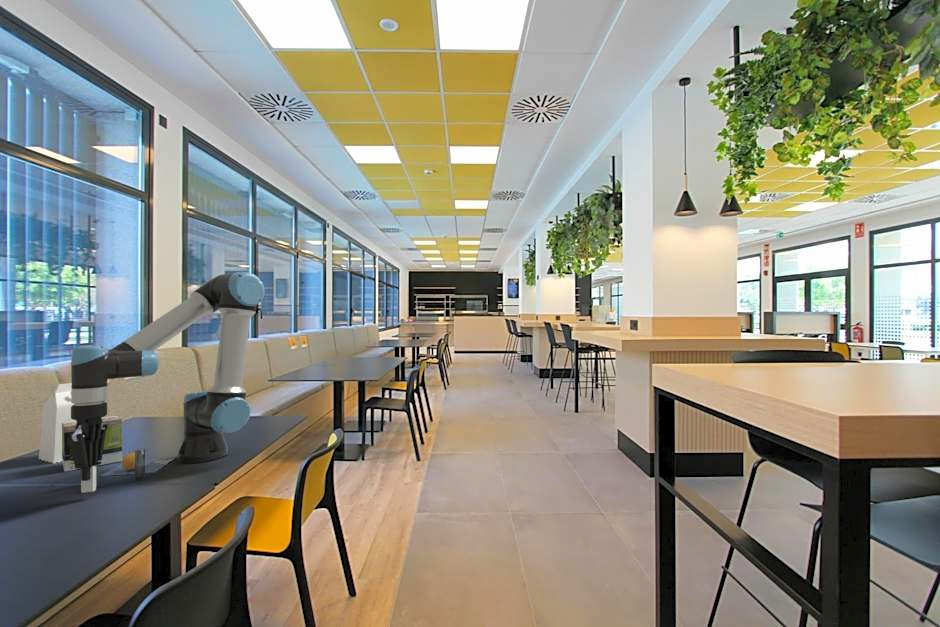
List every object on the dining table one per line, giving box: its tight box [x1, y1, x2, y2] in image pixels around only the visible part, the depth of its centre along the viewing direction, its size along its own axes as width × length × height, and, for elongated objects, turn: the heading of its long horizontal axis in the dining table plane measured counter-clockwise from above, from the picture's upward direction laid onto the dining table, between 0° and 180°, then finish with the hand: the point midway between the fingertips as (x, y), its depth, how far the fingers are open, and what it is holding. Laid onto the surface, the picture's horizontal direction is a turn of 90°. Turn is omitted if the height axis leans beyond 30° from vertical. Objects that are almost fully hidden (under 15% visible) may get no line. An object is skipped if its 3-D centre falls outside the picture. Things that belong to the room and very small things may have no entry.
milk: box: [38, 382, 76, 464], centre depth 161 cm, size 12×12×26 cm
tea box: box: [61, 415, 123, 472], centre depth 152 cm, size 15×10×15 cm, turn 134°
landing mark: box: [100, 461, 168, 477], centre depth 148 cm, size 15×15×1 cm
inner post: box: [134, 448, 146, 482], centre depth 135 cm, size 2×2×9 cm
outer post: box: [96, 465, 99, 484], centre depth 133 cm, size 2×2×9 cm
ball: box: [121, 452, 135, 471], centre depth 145 cm, size 6×6×6 cm
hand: (88, 491), depth 121 cm, fingers closed
